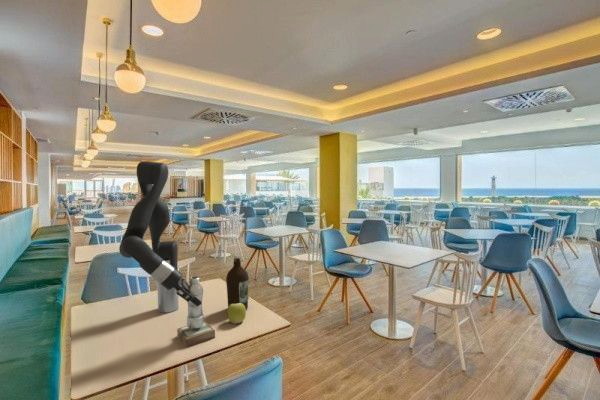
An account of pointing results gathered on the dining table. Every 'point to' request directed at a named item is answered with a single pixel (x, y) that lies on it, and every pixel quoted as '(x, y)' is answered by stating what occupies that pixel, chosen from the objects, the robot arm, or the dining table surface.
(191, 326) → the plastic bottle
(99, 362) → the dining table surface
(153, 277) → the robot arm
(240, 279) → the olive oil
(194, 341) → the walnut base
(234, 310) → the apple
